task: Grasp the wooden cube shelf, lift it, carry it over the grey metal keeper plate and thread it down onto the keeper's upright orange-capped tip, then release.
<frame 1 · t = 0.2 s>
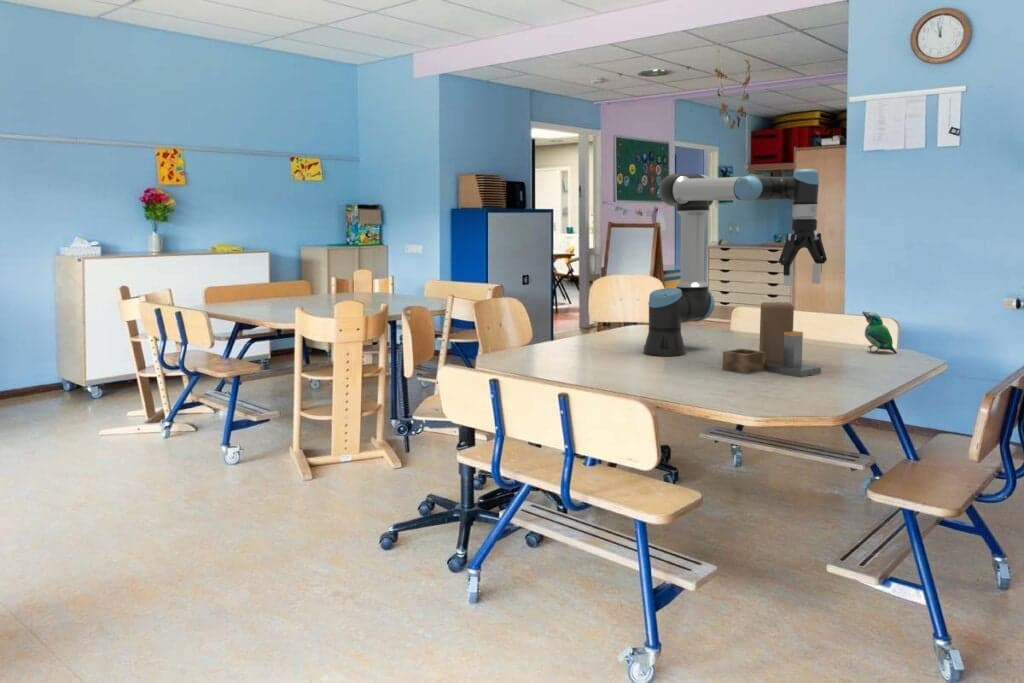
hand: (802, 284, 274), 27 cm above the table, fingers open, 13 cm apart
toy: (878, 353, 306), on the table
wooden cube shelf: (743, 369, 276), on the table
block: (775, 361, 291), on the table
keeper: (792, 372, 272), on the table
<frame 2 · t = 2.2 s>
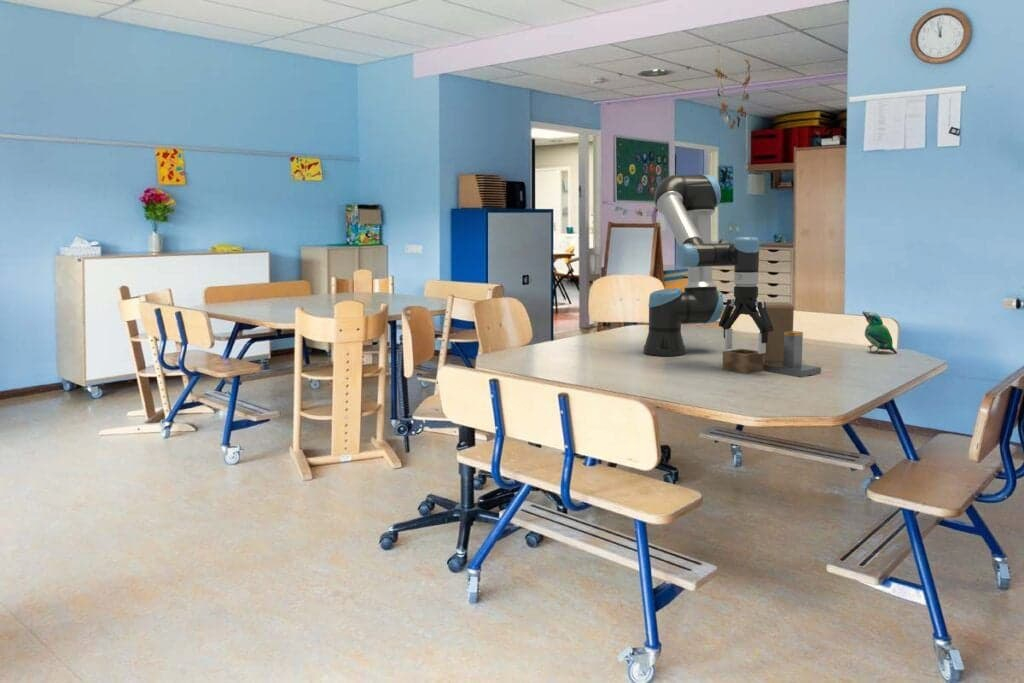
hand: (744, 351, 275), 6 cm above the table, fingers open, 13 cm apart
nothing on the table moved.
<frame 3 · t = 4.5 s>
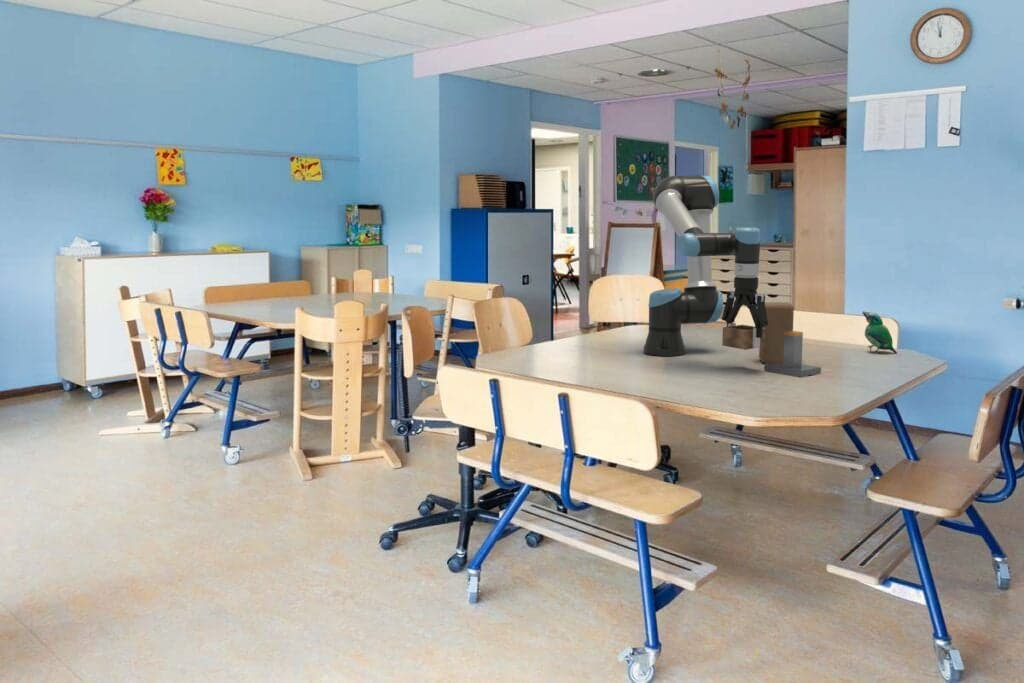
hand: (743, 345, 276), 8 cm above the table, fingers closed on wooden cube shelf, 9 cm apart
wooden cube shelf: (743, 345, 276), point 8 cm above the table, touching gripper
everything else where it was.
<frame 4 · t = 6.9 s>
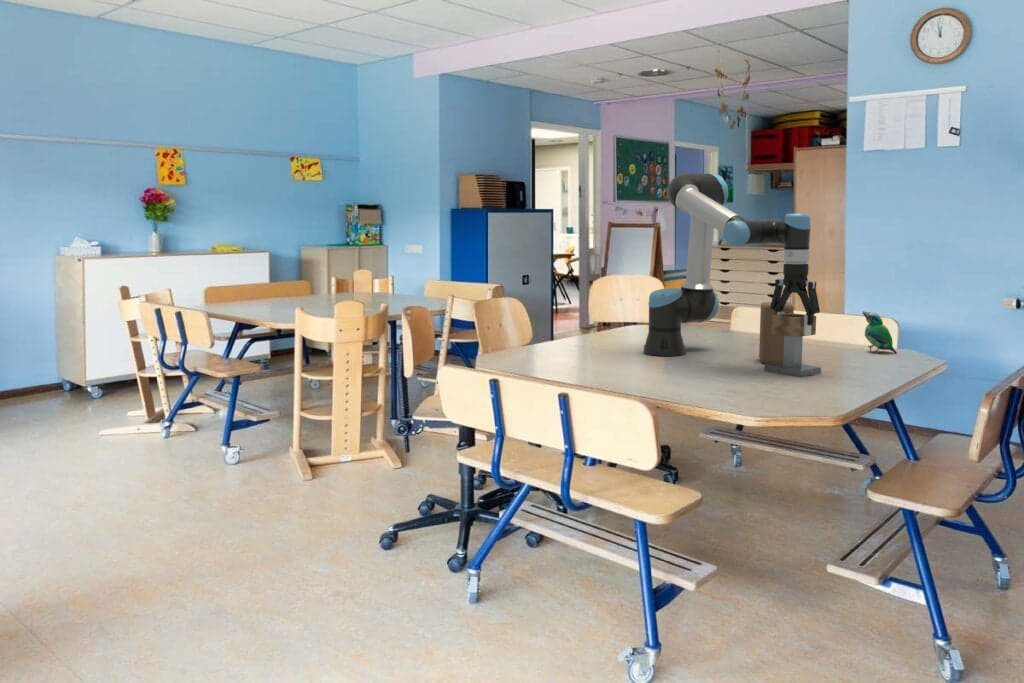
hand: (793, 333, 270), 12 cm above the table, fingers closed on wooden cube shelf, 9 cm apart
wooden cube shelf: (793, 334, 270), point 12 cm above the table, touching gripper
everything else where it was.
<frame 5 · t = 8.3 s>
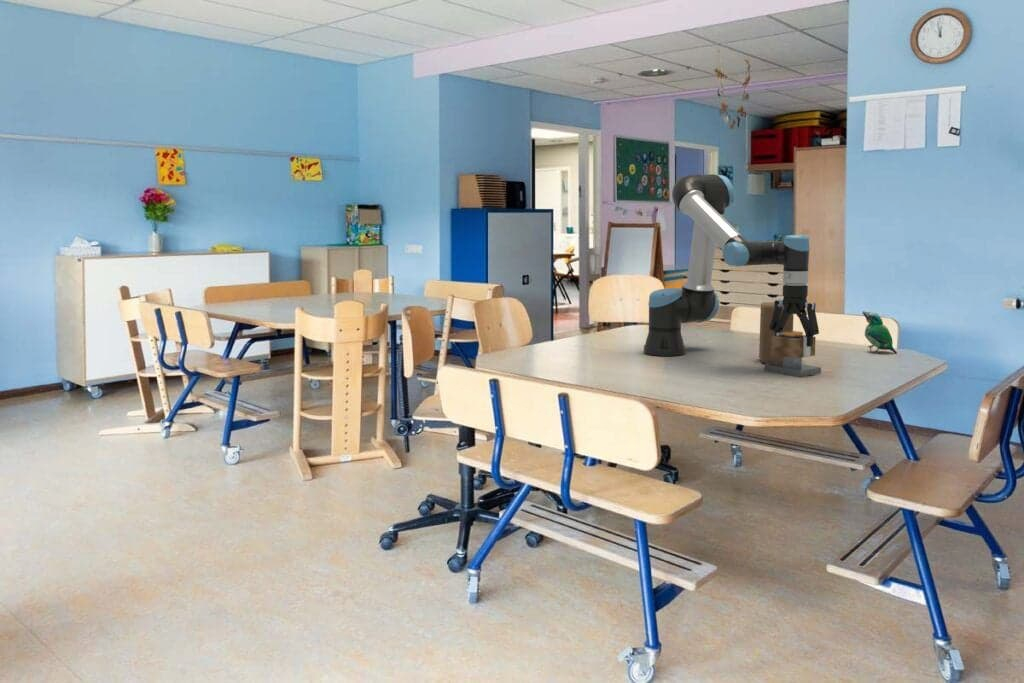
hand: (792, 354, 271), 6 cm above the table, fingers closed on wooden cube shelf, 9 cm apart
wooden cube shelf: (792, 355, 271), point 6 cm above the table, touching gripper
everything else where it was.
when the fingers open (4 cm above the table, at t = 9.4 s): wooden cube shelf drops 1 cm, resting on keeper.
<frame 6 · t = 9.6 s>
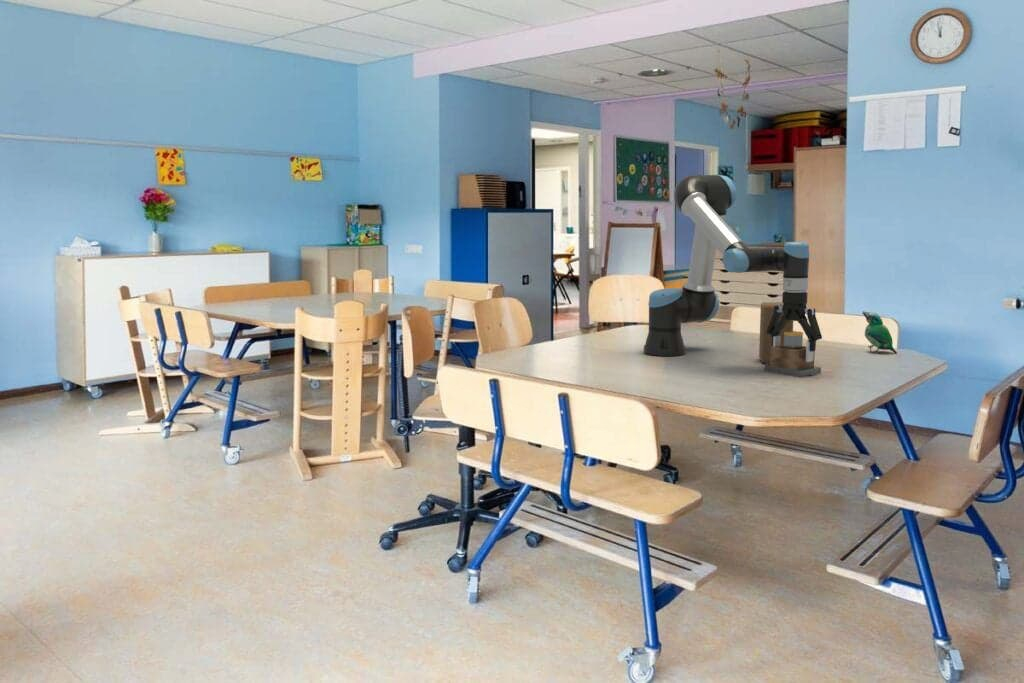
hand: (792, 358, 271), 4 cm above the table, fingers open, 12 cm apart
wooden cube shelf: (792, 365, 271), point 2 cm above the table, touching keeper
everything else where it was.
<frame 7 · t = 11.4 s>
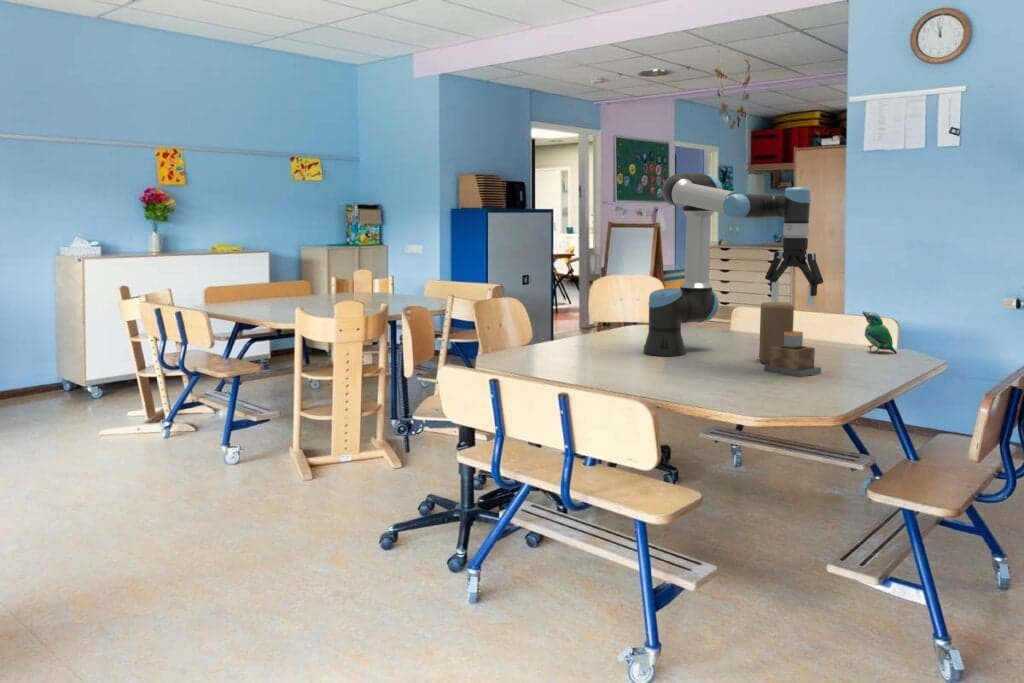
hand: (792, 304, 270), 22 cm above the table, fingers open, 13 cm apart
nothing on the table moved.
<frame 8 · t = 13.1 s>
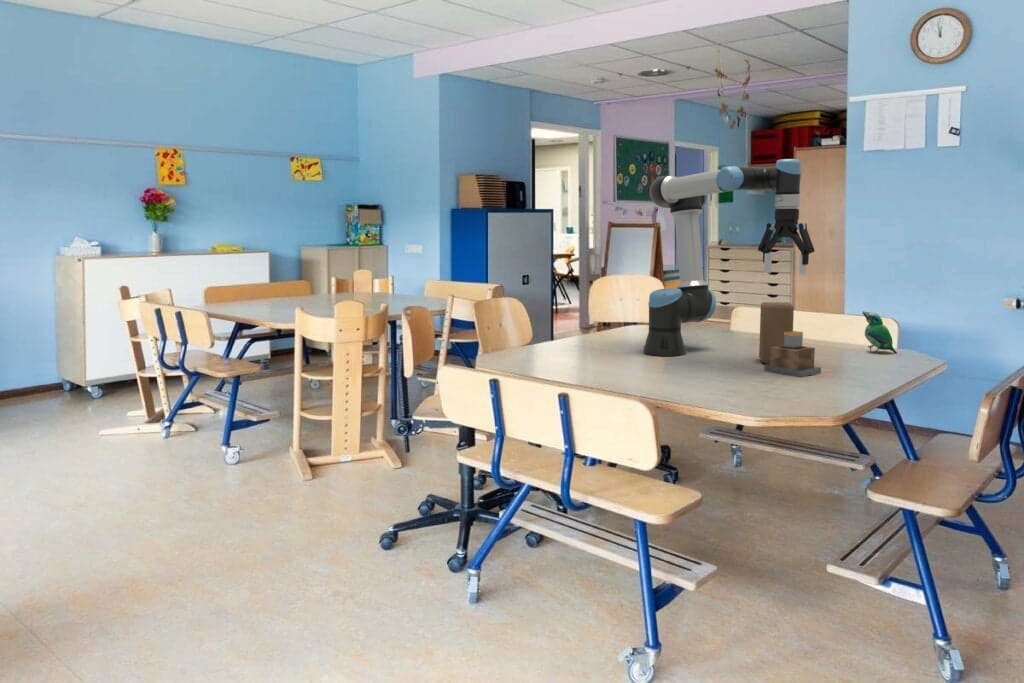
hand: (784, 274, 276), 31 cm above the table, fingers open, 13 cm apart
nothing on the table moved.
at the end: wooden cube shelf 0.1 cm off-centre on the keeper, point 2.0 cm above the keeper's base; the gripper is holding nothing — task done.
